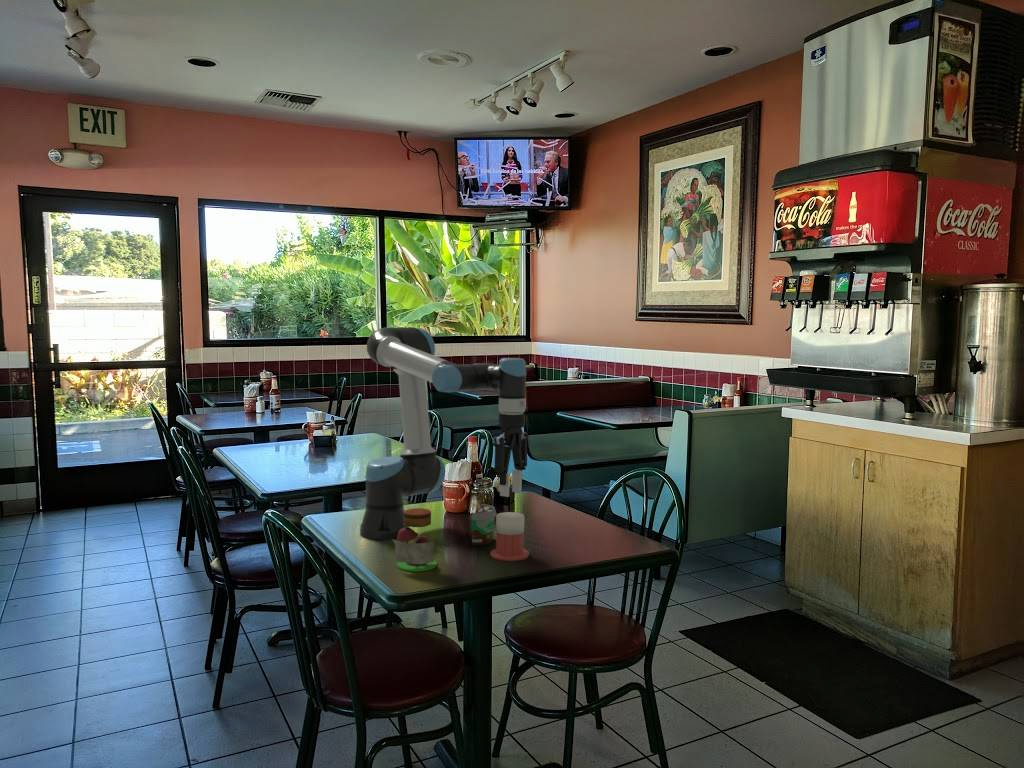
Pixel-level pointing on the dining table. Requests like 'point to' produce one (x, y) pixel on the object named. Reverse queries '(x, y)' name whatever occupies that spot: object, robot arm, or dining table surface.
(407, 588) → the dining table surface
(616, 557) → the dining table surface
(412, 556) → the translucent plastic tub
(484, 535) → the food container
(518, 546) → the red flanged cylinder
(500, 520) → the grey rounded piece
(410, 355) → the robot arm
